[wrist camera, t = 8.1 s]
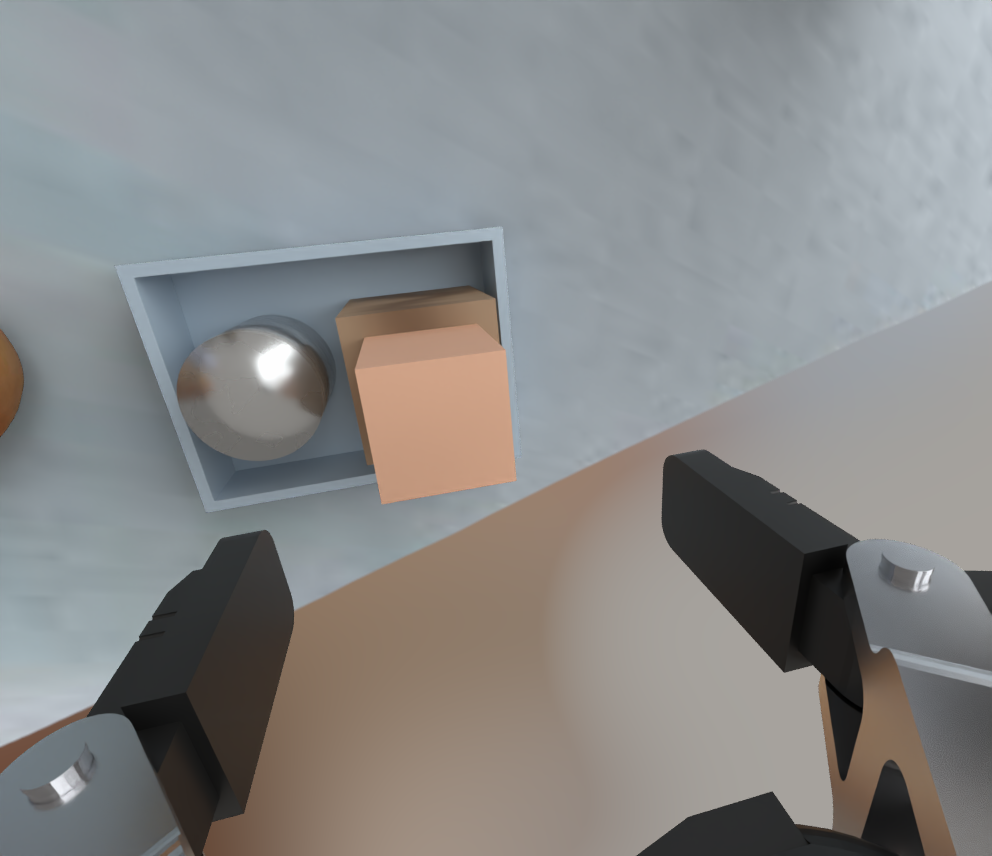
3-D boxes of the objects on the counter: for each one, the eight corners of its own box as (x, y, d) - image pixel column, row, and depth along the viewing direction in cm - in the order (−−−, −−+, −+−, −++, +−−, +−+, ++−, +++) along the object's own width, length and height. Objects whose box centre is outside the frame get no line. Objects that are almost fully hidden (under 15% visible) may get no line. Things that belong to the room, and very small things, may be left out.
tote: (486, 229, 28) (502, 226, 24) (505, 431, 33) (521, 457, 29) (158, 262, 26) (114, 265, 22) (231, 476, 31) (206, 512, 26)
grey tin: (322, 307, 28) (305, 323, 22) (346, 412, 30) (336, 449, 25) (204, 322, 27) (155, 342, 21) (238, 428, 29) (202, 471, 24)
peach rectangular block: (476, 323, 22) (505, 349, 16) (487, 425, 24) (516, 480, 18) (364, 337, 21) (354, 369, 15) (384, 442, 23) (381, 504, 17)
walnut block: (469, 285, 29) (495, 298, 22) (481, 395, 31) (508, 441, 24) (349, 299, 28) (334, 318, 20) (373, 412, 30) (366, 465, 23)
